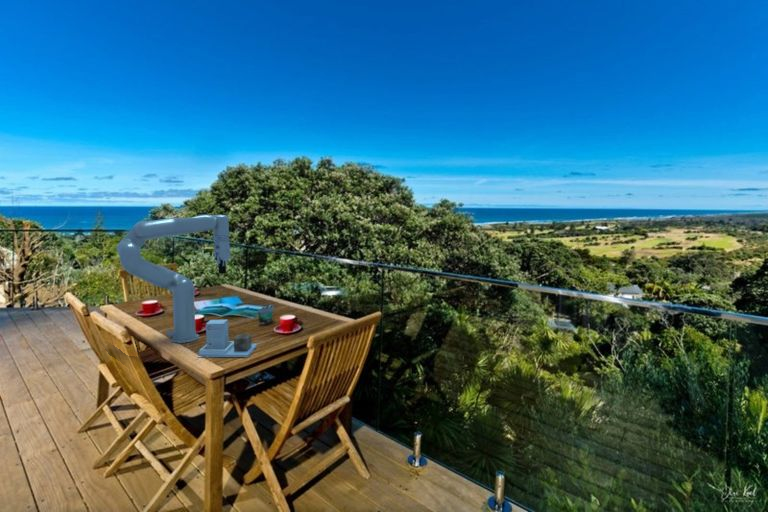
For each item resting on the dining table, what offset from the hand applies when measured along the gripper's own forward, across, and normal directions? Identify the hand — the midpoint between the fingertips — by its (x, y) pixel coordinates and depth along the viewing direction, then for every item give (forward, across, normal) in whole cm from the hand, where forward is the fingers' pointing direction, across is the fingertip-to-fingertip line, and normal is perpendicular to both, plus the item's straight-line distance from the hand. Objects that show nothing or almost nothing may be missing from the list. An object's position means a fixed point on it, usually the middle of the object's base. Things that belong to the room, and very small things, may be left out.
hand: (222, 273), depth 203 cm
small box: (+31, -28, -8) cm, 42 cm away
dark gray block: (+31, -28, -20) cm, 46 cm away
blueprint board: (+32, -28, -13) cm, 45 cm away
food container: (+32, +16, -19) cm, 41 cm away
